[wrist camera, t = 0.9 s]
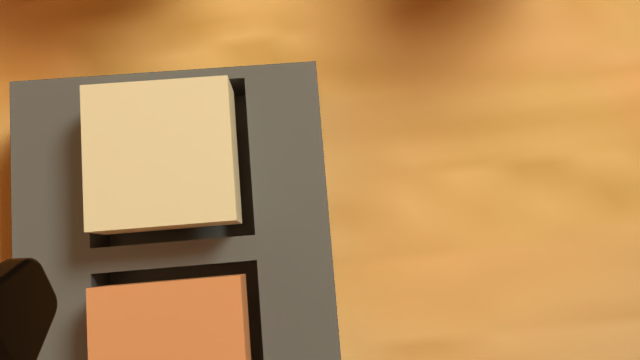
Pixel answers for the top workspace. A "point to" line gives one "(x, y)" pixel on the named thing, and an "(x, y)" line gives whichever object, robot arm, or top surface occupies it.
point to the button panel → (188, 243)
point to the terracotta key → (170, 320)
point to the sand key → (159, 155)
